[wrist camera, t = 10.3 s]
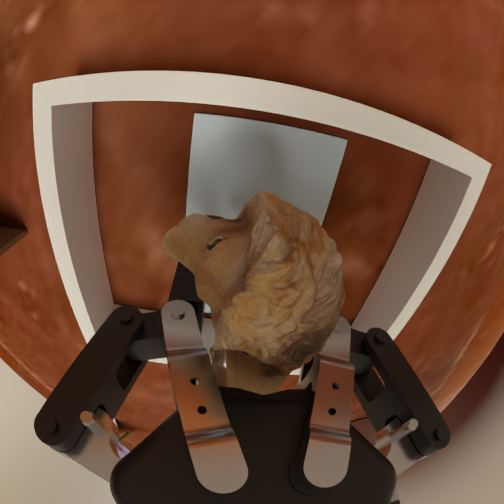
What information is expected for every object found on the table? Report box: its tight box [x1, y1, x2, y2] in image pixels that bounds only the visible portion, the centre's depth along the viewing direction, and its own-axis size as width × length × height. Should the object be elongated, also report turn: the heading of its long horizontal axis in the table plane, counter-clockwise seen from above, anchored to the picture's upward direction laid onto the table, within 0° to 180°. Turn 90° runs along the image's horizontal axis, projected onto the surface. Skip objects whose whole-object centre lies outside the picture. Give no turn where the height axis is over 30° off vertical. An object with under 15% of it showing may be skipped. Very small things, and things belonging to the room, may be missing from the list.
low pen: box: [33, 70, 492, 375], centre depth 16 cm, size 22×18×4 cm
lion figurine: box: [162, 191, 346, 395], centre depth 12 cm, size 15×5×9 cm, turn 178°
